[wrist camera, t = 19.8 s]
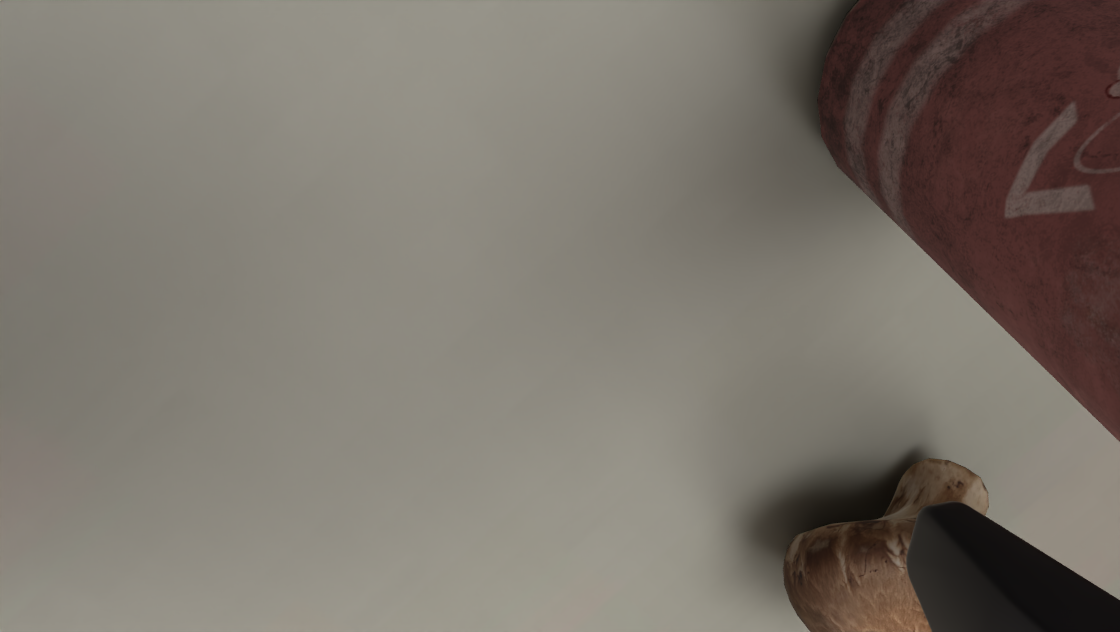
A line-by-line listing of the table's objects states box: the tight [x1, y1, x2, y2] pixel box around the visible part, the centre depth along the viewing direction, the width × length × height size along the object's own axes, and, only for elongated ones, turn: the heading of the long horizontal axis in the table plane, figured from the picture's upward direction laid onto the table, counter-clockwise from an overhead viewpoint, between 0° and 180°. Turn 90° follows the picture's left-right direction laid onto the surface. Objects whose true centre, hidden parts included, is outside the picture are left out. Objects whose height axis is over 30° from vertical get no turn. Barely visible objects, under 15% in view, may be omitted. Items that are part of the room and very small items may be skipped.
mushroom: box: [783, 458, 989, 632], centre depth 29 cm, size 8×8×6 cm
